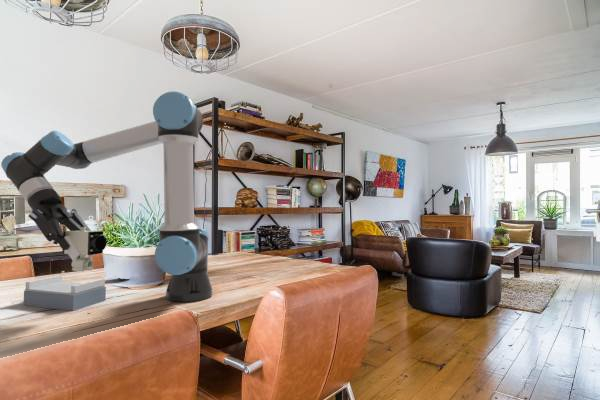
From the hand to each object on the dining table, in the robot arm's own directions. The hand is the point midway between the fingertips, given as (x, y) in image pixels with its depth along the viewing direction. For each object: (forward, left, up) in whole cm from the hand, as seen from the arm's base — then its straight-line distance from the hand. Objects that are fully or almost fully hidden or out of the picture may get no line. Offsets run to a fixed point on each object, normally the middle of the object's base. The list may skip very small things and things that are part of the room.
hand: (85, 255), depth 100 cm
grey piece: (+18, -9, -17) cm, 26 cm away
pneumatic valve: (+1, 0, -4) cm, 4 cm away
